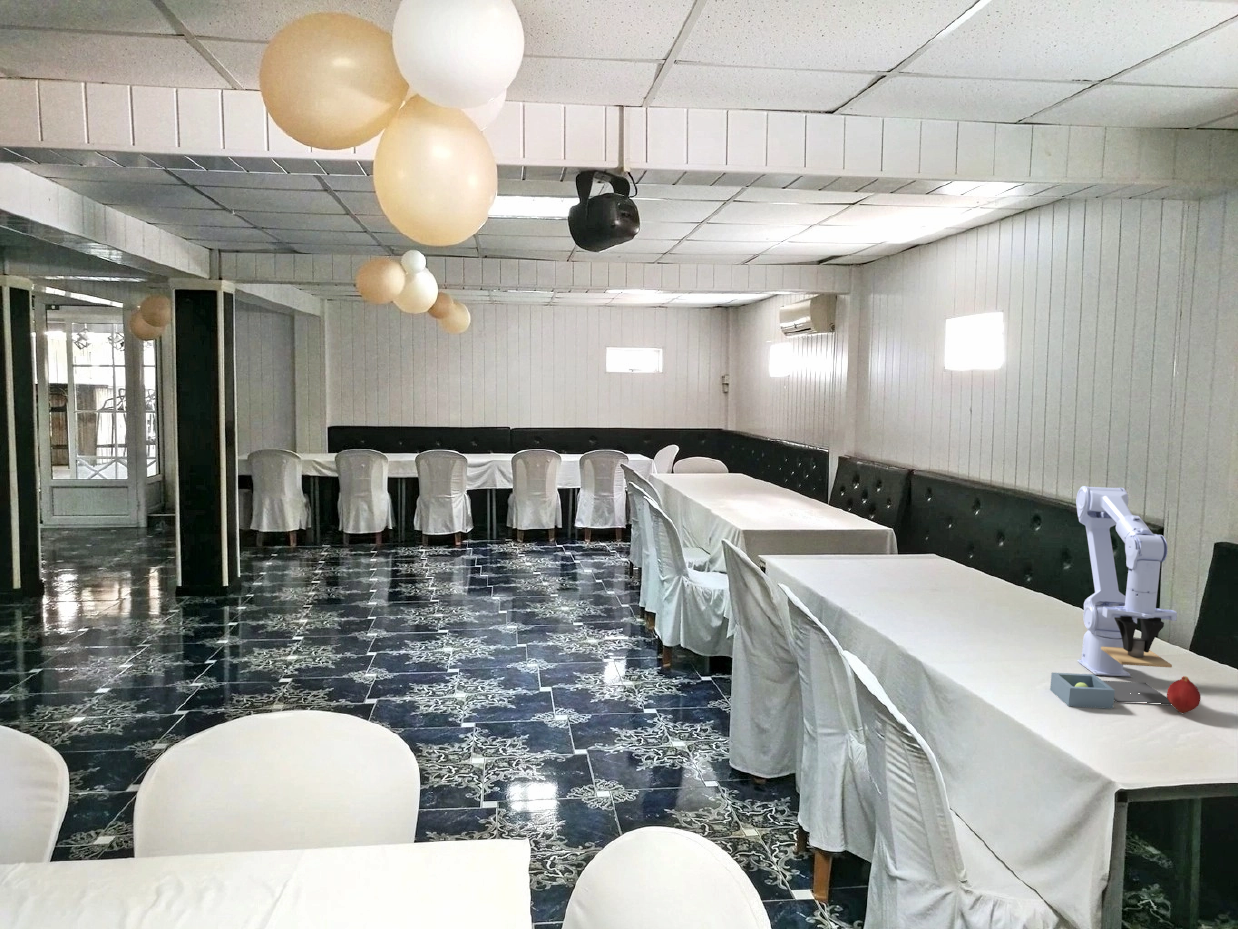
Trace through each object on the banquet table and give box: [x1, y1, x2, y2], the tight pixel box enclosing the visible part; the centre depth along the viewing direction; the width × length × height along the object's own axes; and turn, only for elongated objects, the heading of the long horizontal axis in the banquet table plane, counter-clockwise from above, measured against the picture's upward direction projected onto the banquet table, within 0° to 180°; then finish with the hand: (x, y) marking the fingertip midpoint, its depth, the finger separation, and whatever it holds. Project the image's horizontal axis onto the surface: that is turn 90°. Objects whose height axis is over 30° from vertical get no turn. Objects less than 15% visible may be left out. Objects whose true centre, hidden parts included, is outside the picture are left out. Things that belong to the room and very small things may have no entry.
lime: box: [1075, 682, 1088, 687], centre depth 182 cm, size 3×3×3 cm
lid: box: [1101, 636, 1173, 669], centre depth 185 cm, size 10×10×4 cm
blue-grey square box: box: [1049, 672, 1115, 709], centre depth 182 cm, size 9×9×4 cm
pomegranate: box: [1166, 675, 1201, 714], centre depth 176 cm, size 6×6×8 cm
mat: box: [1101, 679, 1171, 704], centre depth 187 cm, size 12×12×1 cm
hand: (1135, 650), depth 185 cm, fingers closed on lid, 3 cm apart
